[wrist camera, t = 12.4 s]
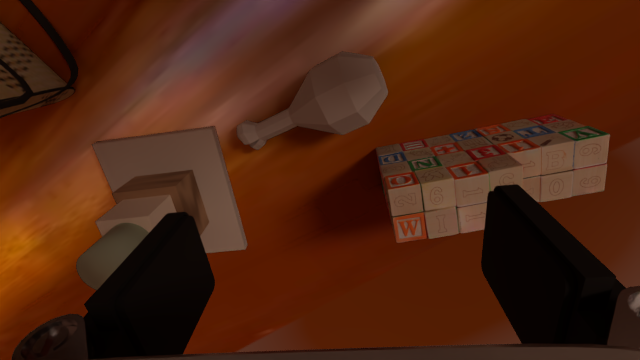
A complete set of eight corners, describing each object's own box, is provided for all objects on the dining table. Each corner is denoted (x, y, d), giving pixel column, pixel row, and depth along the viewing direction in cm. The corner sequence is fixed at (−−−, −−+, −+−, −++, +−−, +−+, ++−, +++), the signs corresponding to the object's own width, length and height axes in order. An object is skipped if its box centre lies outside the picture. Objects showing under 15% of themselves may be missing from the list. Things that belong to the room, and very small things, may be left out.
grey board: (97, 141, 44) (91, 144, 43) (214, 126, 42) (211, 128, 41) (145, 254, 51) (141, 258, 50) (247, 244, 49) (245, 249, 48)
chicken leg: (228, 95, 42) (213, 142, 36) (360, 22, 34) (365, 67, 29) (269, 138, 47) (261, 184, 42) (390, 83, 40) (399, 130, 34)
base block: (135, 176, 44) (111, 193, 40) (192, 169, 44) (175, 186, 39) (155, 227, 48) (136, 248, 43) (209, 222, 47) (195, 243, 42)
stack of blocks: (553, 111, 40) (639, 143, 28) (551, 159, 42) (629, 207, 31) (373, 147, 43) (386, 190, 31) (381, 191, 45) (396, 245, 34)
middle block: (122, 199, 40) (95, 221, 36) (170, 194, 40) (148, 216, 35) (140, 241, 42) (116, 267, 38) (185, 237, 42) (166, 262, 37)
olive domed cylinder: (101, 224, 36) (67, 253, 31) (146, 220, 35) (117, 248, 31) (119, 262, 38) (89, 294, 33) (161, 259, 37) (136, 291, 33)
